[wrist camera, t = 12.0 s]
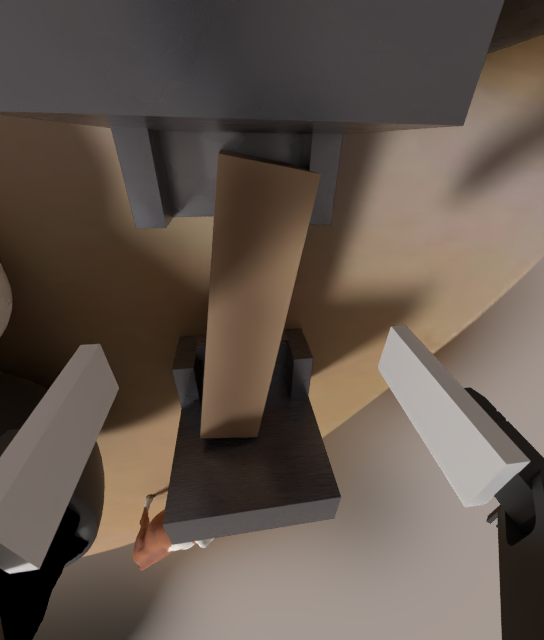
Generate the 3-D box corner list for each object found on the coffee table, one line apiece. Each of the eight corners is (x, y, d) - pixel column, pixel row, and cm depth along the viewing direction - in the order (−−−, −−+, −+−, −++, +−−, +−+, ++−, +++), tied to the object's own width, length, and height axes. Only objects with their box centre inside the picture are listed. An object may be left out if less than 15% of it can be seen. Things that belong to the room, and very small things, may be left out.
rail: (291, 164, 16) (321, 174, 11) (250, 377, 24) (257, 437, 20) (220, 149, 15) (218, 153, 10) (205, 376, 24) (200, 438, 19)
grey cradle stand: (325, 68, 15) (531, -82, 5) (295, 385, 28) (334, 518, 18) (120, 57, 13) (-182, -187, 3) (192, 395, 27) (172, 544, 17)
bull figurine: (230, 464, 35) (231, 543, 28) (160, 508, 38) (146, 587, 31) (204, 452, 32) (198, 534, 26) (132, 499, 36) (111, 582, 29)
